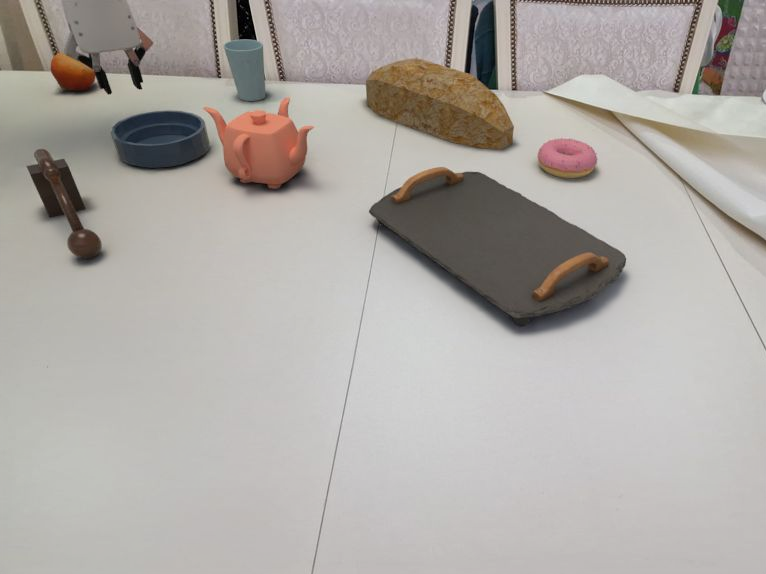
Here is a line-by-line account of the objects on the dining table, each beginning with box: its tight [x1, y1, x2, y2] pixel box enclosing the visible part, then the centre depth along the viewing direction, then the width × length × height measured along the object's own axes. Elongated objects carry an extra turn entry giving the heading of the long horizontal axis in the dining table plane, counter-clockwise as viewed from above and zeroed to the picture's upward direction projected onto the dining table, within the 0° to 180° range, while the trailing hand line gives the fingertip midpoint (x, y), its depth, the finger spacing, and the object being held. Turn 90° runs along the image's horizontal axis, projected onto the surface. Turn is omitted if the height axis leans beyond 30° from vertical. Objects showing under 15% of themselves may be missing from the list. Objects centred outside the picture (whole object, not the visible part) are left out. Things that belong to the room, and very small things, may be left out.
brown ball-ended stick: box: [33, 148, 103, 260], centre depth 87 cm, size 20×4×9 cm, turn 37°
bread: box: [365, 57, 515, 151], centre depth 124 cm, size 36×11×10 cm, turn 53°
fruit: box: [50, 52, 96, 94], centre depth 129 cm, size 8×8×8 cm
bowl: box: [110, 109, 211, 169], centre depth 109 cm, size 15×15×4 cm
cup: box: [223, 38, 267, 102], centre depth 129 cm, size 8×8×10 cm
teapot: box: [203, 97, 315, 189], centre depth 102 cm, size 14×14×11 cm
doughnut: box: [536, 137, 598, 179], centre depth 112 cm, size 11×11×4 cm
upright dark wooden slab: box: [25, 158, 86, 218], centre depth 92 cm, size 3×5×7 cm, turn 127°
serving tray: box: [368, 166, 627, 327], centre depth 90 cm, size 39×23×6 cm, turn 41°
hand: (122, 88), depth 113 cm, fingers open, 4 cm apart
